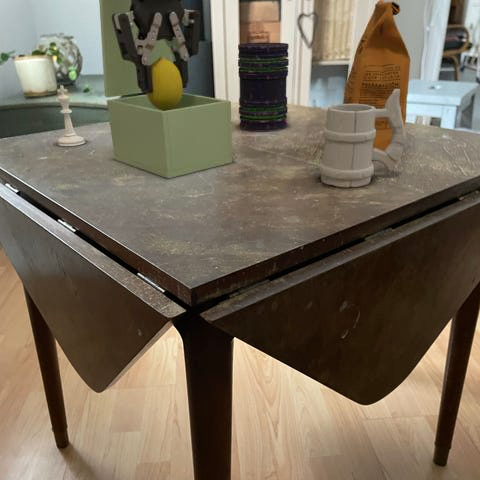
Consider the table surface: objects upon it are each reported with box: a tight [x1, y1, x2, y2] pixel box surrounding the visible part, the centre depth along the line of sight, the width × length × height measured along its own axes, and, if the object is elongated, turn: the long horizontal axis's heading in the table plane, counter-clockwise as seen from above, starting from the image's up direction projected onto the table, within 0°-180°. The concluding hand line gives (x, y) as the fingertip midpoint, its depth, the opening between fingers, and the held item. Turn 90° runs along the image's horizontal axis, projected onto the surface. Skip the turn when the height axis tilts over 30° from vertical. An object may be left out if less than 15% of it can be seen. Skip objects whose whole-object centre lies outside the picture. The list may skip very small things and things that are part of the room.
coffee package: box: [342, 0, 411, 151], centre depth 86 cm, size 10×12×22 cm
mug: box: [318, 89, 407, 188], centre depth 75 cm, size 8×12×12 cm, turn 95°
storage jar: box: [237, 42, 290, 132], centre depth 107 cm, size 10×10×15 cm
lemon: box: [146, 57, 184, 111], centre depth 81 cm, size 6×6×8 cm
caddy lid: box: [98, 0, 174, 99], centre depth 85 cm, size 16×13×5 cm
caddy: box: [106, 92, 233, 179], centre depth 86 cm, size 16×13×9 cm
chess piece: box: [56, 84, 86, 147], centre depth 98 cm, size 5×5×10 cm
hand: (164, 89), depth 82 cm, fingers closed on lemon, 5 cm apart
